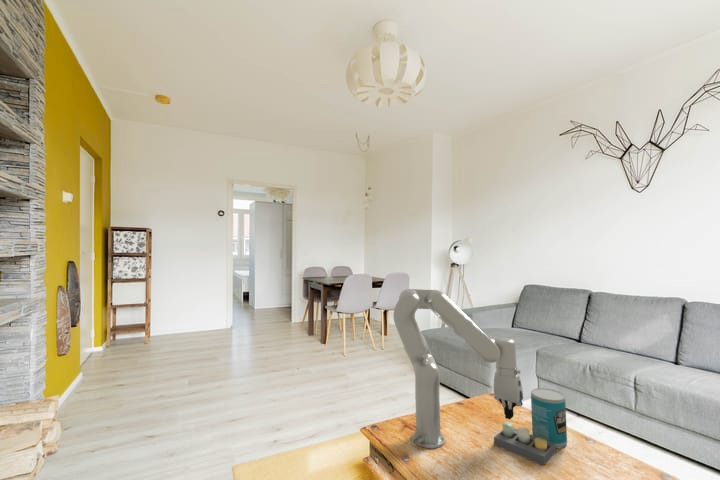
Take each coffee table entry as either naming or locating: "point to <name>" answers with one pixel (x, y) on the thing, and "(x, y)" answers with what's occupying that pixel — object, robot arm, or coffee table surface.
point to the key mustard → (541, 444)
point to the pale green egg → (508, 429)
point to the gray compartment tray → (525, 447)
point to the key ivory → (523, 435)
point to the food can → (549, 416)
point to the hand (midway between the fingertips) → (509, 417)
